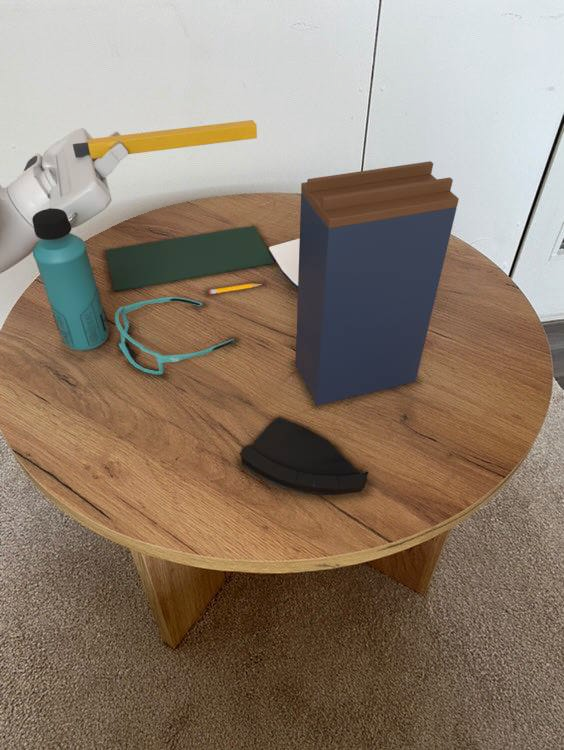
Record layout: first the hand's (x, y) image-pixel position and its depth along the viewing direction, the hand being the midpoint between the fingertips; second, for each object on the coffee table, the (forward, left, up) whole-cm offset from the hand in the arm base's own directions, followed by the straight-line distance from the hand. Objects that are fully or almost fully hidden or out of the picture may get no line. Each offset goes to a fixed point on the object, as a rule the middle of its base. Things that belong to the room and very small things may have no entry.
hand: (122, 141), depth 81 cm
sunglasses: (+4, -20, -21) cm, 29 cm away
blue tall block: (+28, -30, -20) cm, 46 cm away
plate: (+32, -7, -21) cm, 39 cm away
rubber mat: (+7, +1, -20) cm, 22 cm away
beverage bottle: (-7, -19, -21) cm, 29 cm away
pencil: (+14, -9, -21) cm, 27 cm away
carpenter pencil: (+7, +1, -1) cm, 7 cm away
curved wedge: (+18, -44, -21) cm, 52 cm away
